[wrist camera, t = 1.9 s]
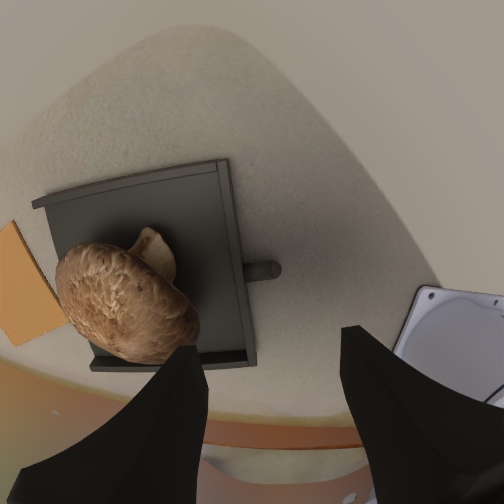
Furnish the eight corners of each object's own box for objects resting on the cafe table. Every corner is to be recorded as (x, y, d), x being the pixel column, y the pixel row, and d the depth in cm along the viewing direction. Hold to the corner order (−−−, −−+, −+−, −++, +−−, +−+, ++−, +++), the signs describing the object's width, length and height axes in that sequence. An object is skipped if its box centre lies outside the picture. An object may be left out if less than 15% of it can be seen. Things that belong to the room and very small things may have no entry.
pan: (99, 358, 20) (91, 371, 19) (45, 195, 16) (30, 201, 15) (287, 347, 20) (290, 362, 18) (267, 152, 16) (269, 154, 14)
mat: (13, 220, 17) (11, 221, 16) (71, 319, 19) (70, 321, 19) (-33, 264, 18) (-35, 266, 18) (16, 345, 20) (14, 347, 20)
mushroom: (160, 176, 13) (81, 309, 9) (250, 285, 18) (215, 393, 14) (74, 211, 17) (19, 300, 13) (155, 287, 22) (119, 367, 18)
